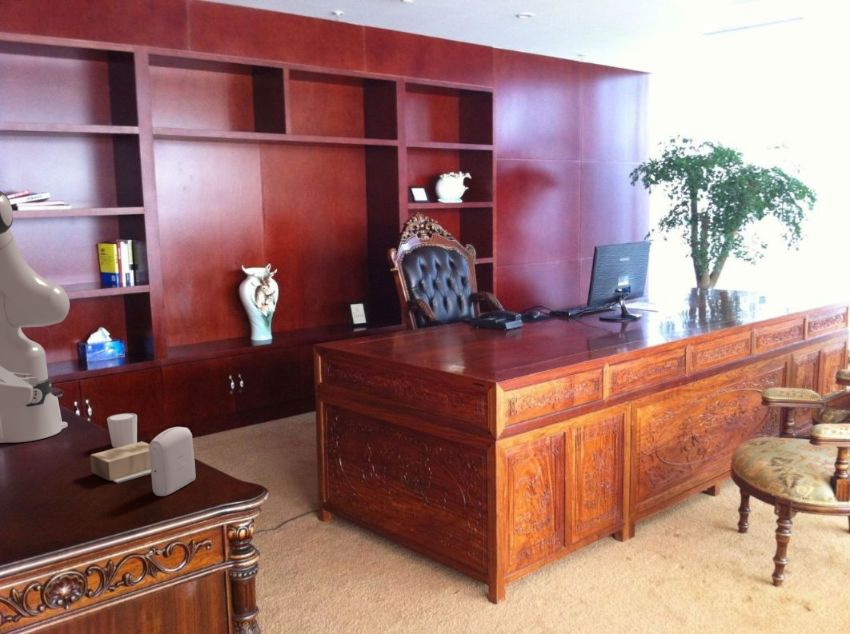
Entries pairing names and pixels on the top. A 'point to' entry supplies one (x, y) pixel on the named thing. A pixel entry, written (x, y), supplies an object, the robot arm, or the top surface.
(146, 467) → the oak block
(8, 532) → the top surface
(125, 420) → the white tapered cup
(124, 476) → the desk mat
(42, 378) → the robot arm
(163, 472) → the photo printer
